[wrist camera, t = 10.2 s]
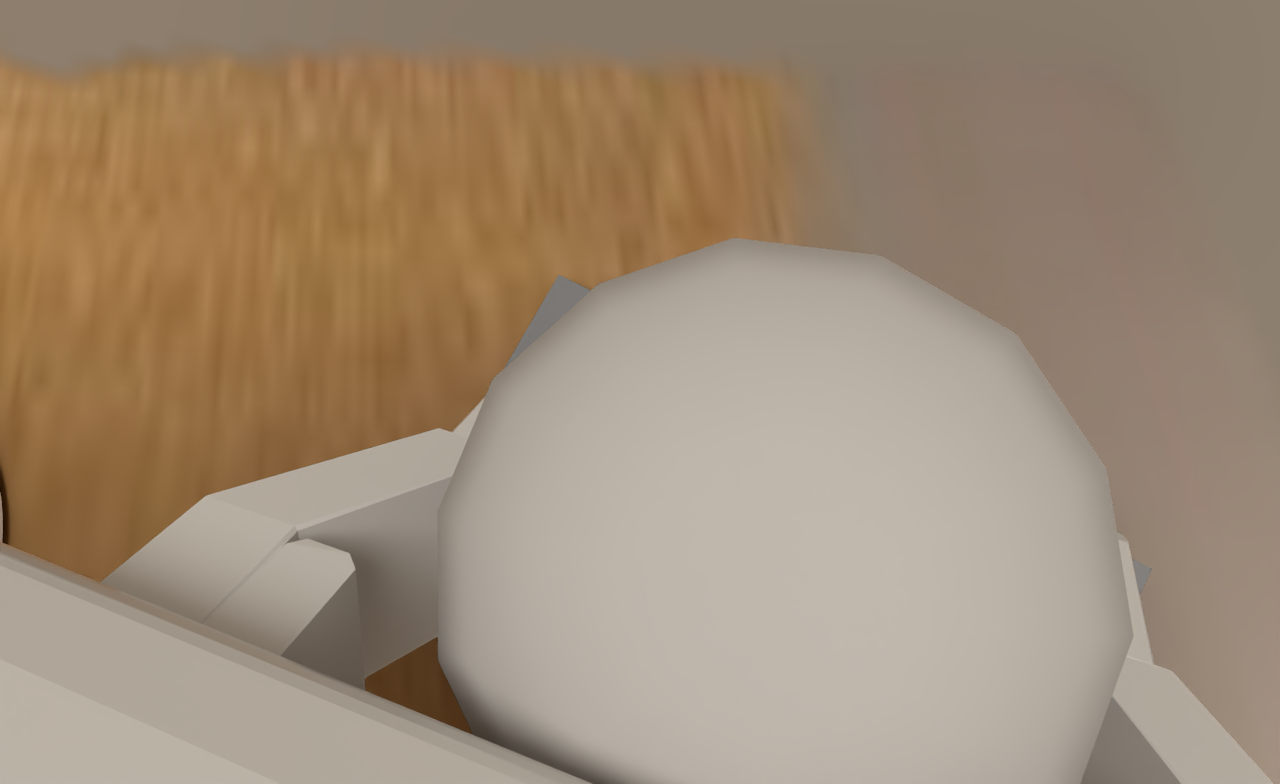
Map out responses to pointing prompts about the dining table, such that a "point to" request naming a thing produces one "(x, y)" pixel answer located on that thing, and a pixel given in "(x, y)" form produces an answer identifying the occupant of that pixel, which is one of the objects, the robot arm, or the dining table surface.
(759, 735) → the salt shaker
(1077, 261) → the dining table surface
